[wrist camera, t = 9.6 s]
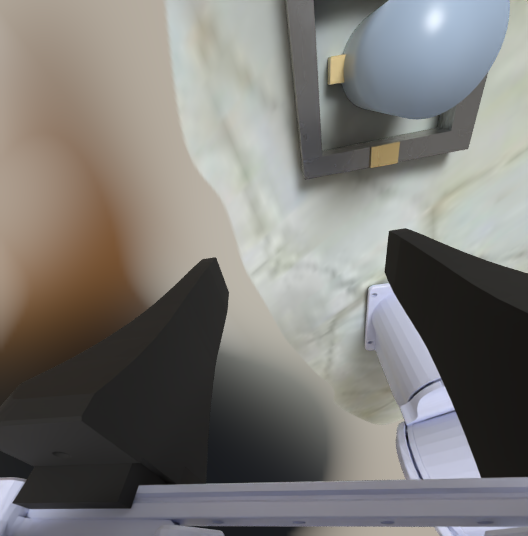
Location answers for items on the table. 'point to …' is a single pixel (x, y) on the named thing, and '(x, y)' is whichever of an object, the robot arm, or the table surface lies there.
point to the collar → (373, 152)
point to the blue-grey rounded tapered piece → (420, 55)
